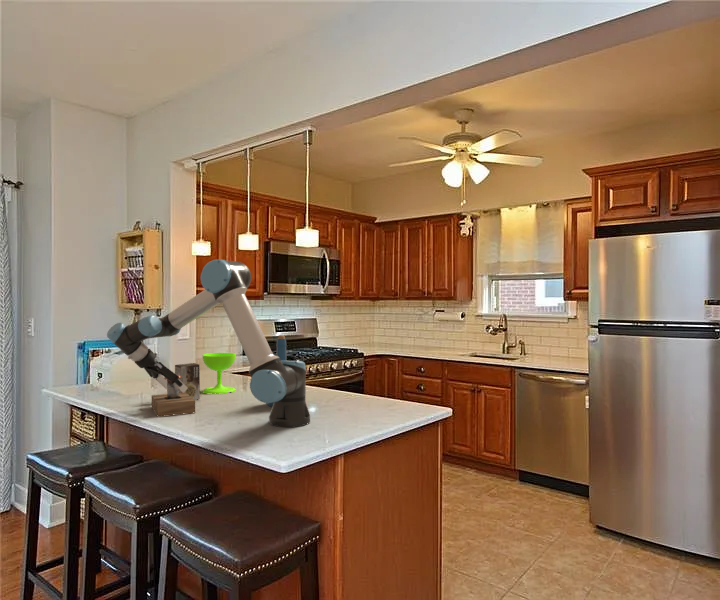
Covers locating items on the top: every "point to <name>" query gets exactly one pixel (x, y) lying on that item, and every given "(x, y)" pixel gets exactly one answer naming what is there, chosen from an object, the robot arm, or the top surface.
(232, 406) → the top surface
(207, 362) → the wineglass
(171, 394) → the metal pin
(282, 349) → the wine bottle
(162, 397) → the walnut socket block
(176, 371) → the coffee box
